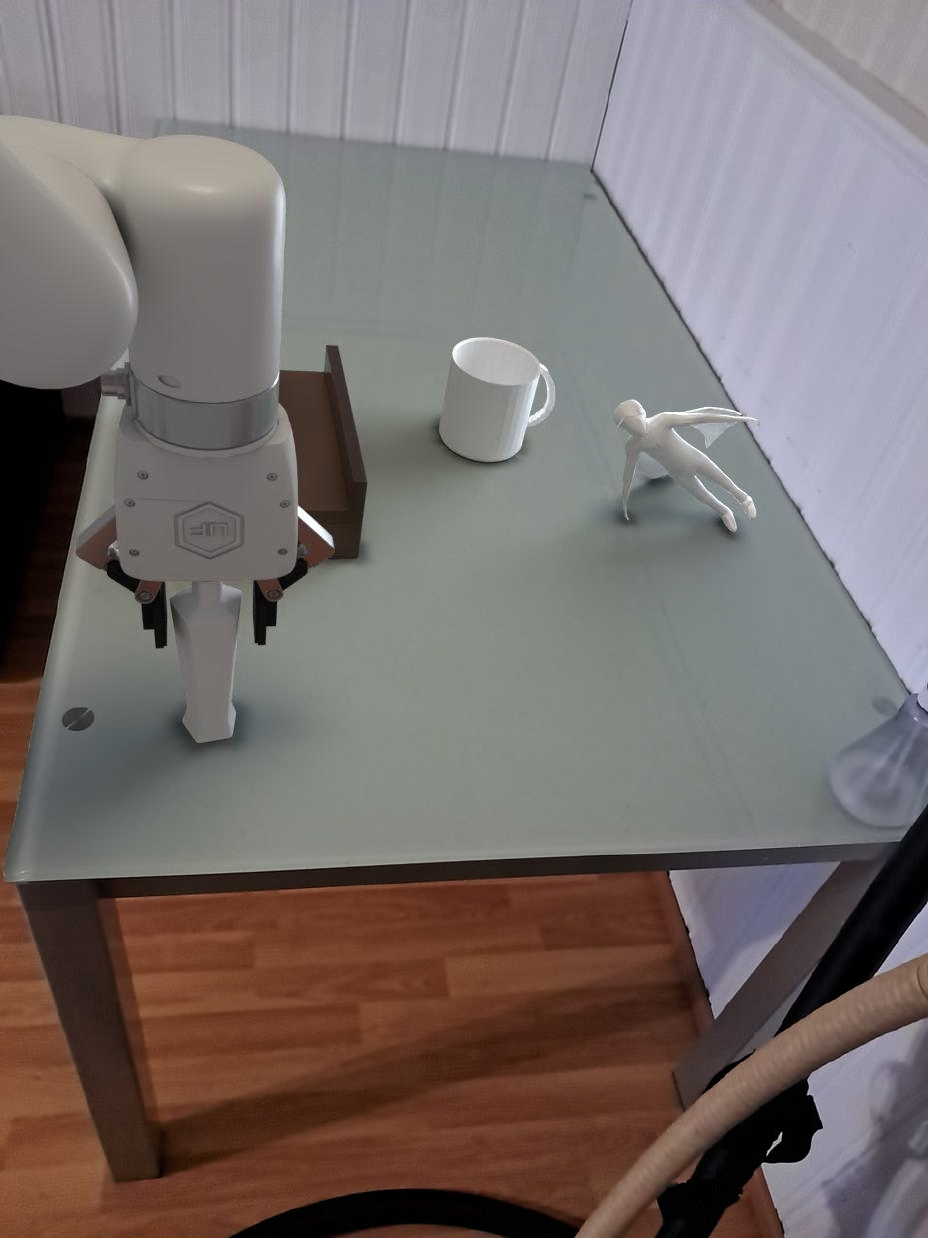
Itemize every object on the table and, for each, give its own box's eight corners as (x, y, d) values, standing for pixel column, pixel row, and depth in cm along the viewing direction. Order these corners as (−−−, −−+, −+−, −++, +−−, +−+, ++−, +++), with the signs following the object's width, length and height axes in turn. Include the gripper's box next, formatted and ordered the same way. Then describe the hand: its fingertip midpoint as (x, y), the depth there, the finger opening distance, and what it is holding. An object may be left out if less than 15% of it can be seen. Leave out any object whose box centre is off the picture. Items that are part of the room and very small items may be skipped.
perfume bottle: (212, 759, 68) (209, 608, 58) (167, 726, 69) (156, 573, 59) (257, 721, 71) (261, 571, 61) (212, 690, 72) (209, 539, 62)
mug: (443, 460, 98) (458, 381, 92) (433, 411, 105) (447, 333, 98) (555, 467, 101) (577, 390, 95) (539, 418, 107) (558, 343, 101)
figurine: (783, 420, 100) (670, 301, 89) (816, 487, 93) (697, 367, 81) (662, 507, 108) (544, 407, 96) (684, 575, 100) (558, 476, 89)
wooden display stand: (171, 559, 81) (166, 479, 76) (172, 413, 96) (168, 336, 90) (358, 558, 86) (367, 482, 80) (331, 418, 100) (338, 345, 95)
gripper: (23, 431, 46) (66, 679, 59) (376, 440, 51) (347, 669, 63) (38, 350, 51) (75, 594, 64) (358, 364, 56) (334, 590, 68)
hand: (210, 629), depth 63 cm, fingers open, 5 cm apart
